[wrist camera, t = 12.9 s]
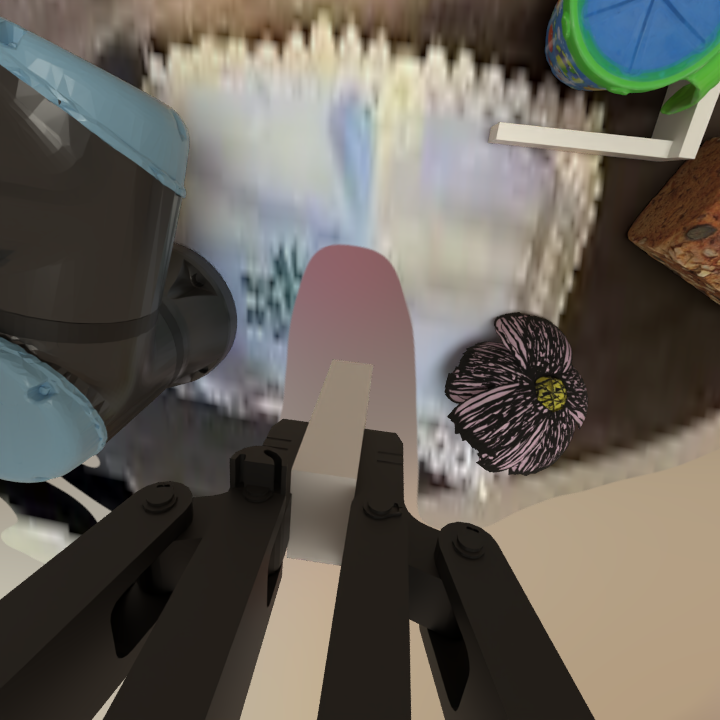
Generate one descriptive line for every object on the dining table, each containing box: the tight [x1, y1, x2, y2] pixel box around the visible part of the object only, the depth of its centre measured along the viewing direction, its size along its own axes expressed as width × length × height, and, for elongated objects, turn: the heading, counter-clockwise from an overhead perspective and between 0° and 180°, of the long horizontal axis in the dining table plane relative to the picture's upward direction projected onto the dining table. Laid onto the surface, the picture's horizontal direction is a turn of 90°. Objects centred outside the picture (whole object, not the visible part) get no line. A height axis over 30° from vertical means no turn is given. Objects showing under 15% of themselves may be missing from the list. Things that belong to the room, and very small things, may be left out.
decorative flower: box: [445, 312, 588, 476], centre depth 42 cm, size 15×12×15 cm
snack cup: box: [545, 0, 720, 115], centre depth 29 cm, size 16×10×10 cm
